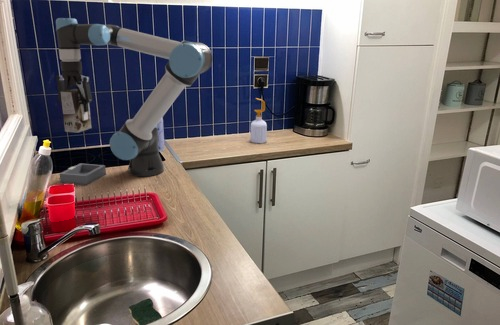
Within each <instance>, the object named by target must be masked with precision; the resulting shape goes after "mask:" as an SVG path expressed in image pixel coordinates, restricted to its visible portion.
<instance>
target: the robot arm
mask: <svg viewBox="0 0 500 325" xmlns="http://www.w3.org/2000/svg"><path fill="white" fill-rule="evenodd" d="M55 27H56V28H55V32H56V36H57V43H58V44H57V45H58V55H59V56H58V57H59V59H60V60H61V61H60V62H59V63H60V70H61V72H62V74H60V75H56V76H55V79H56V82H57V99H58V101H59V102H62V100H61V91H68V90H72V87H73V86H74V88H75V89H77V91H79V93H80V98H81V101H82V103H81V112H82V120H83V121H84V120H87V119H88V113H87V112H88V111H89V108H88V103H89V104H90V103H93V95H92V90H91V84H90V80H91V78H90V76H85V75H83V66H82V65H83V64H82V60H81V59H82V55H81V54H82V53H81V47H80V46H84V45H85V46H97V47H98V46H106V45H110V46H114V47H119V48H124V49H127V50H131V51H135V52H138V53H139V52H140V53H142V54H147V55H150V56H154V57H158V58H163V59H166V60H168V61H167V63H166V64H165V66H164V68H165V73H164V75H163V76H162V77H161V79H160V80H159V81H158V83H157V85H156V86H155V87H154V88H153V90H152V91H151V93H150V94H149V95H148V97H147V99H145V102H143V104H142V105H141V107H140V108H139V110H138V111H137V113H135V115H134V117H133V118H129V119H127V120H126V121H125V122H124V124H123V125H122V127H121V128H120V129H119V130H118V131H117V132H115V133H113V134H112V135H111V137H110V139H109V147H110V150H111V152H112V154H113V155H114V156H115V157H116V158H118V159H119V160H122V161H129V164H128V173H129V175H131V176H134V177H151V176H156V175H161V174H162V173H163V172H164V170H165V167H164V163H163V161H162V158H161V156H160V152H159V148H158V128H157V124H158V122H159V121H160V120H161V118H164V116H165V115H166V113H167V112H168V110H169V109H170V107H171V106H172V105H173V103H174V102H175V101H176V100H177V98H179V96H180V95H181V94H182V92H183V91H184V89H185V88H186V87H191V86H192V85H193V84H194V82H195V81H196V80H197V79H198V77H199V76H200V75H201V74H203V73H205V72H207V71H208V70H209V69H210V68H211V66H212V64H213V59H214V57H213V53H212V50H211V49H210V47H208V45H206V44H204V43H202V42H197V41H196V42H194V41H189V40H185V39H184V40H182V41H181V42H180V41H177V40H173V39H169V38H165V37H160V36H156V35H153V34H149V33H144V32H140V31H137V30H133V29H129V28H124V27H121V26H118V25H116V24H111V23H110V24H100V23H82V24H81V23H78V20H77V19H76V18H72V17H70V18H69V17H65V18H64V17H58V18H56V20H55Z"/></svg>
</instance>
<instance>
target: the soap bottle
mask: <svg viewBox="0 0 500 325" xmlns="http://www.w3.org/2000/svg"><path fill="white" fill-rule="evenodd" d="M255 100H258V101H261V109H254V112H256V115H255V119H254V120H252V121H251V123H250V142H251V143H253V144H265V143H266V142H267V141H268V140H267V136H268V134H267V133H268V132H267V130H268V129H267V128H268V124H267V122H266V121H265V120H264V119H262V118H263V116H262V115H261V113H263V112H265V111H266V101H265V100H263V99H262V98H257V97H255Z"/></svg>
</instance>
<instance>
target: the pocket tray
mask: <svg viewBox="0 0 500 325" xmlns="http://www.w3.org/2000/svg"><path fill="white" fill-rule="evenodd" d="M106 175H107V169H106V165H104V164H95V163H94V164H92V163H91V164H90V163H82V162H81V163H78V164H77V165H76V164H75V165H74V166H70V167H68V168H67V169H66V170H63V171H62V172H60V173H59V181H60V183H61V182H62V183H61V184H66V183H74V184H73V185H78V186H79V185H80V186H89V185H91V184H92V183H94V182H95V181H97V180H100V179H101V178H102V177H104V176H106Z"/></svg>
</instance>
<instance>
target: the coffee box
mask: <svg viewBox="0 0 500 325" xmlns="http://www.w3.org/2000/svg"><path fill="white" fill-rule="evenodd" d="M61 100H62V101H61V106H62V107H61V108H62V115H63V116H62V117H63V125H64V132H65V133H66V132H67V133H74V134H75V133H76V134H77V133H81V132H84V131H87V130H89V129H92V119H91V108H90V102H89V103H88V108H89V111H88V112H87V113H88V119H87V120H84V121H83V120H82V112H81V103H82V101H81V98H80V93H79V91H77V89H76V88H73V89H72V88H71V90H68V91H61Z"/></svg>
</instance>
